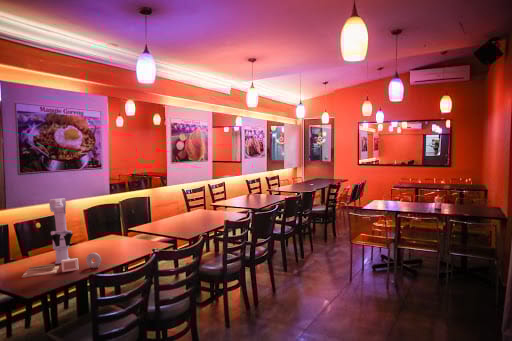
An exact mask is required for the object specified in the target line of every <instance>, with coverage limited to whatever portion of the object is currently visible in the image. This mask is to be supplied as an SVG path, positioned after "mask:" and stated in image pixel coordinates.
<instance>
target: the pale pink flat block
mask: <svg viewBox="0 0 512 341" xmlns="http://www.w3.org/2000/svg"><path fill="white" fill-rule="evenodd" d="M60 264H61V273H65V272H72V271H79V258H78V257H77V258H76V257H75V258H70V259H67V260H62V261H61V263H60Z"/></svg>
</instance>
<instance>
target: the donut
mask: <svg viewBox="0 0 512 341" xmlns="http://www.w3.org/2000/svg"><path fill="white" fill-rule="evenodd" d="M101 257H102V256H101V255H100V254H98V253H97V252H90V253H89V254H87V256H86V257H85V258H86V259H85V260H86V261H85V262H86V265H87V266H88V268H91V269H96V268H98V267H99V266H100V265H101V263H102V258H101ZM92 259H94V260H95V262H93V260H92Z"/></svg>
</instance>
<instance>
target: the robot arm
mask: <svg viewBox="0 0 512 341" xmlns="http://www.w3.org/2000/svg"><path fill="white" fill-rule="evenodd" d="M48 202H49V210H50V213H51V212H52V213H53V216H54V219H55V220H54V221H55V230H51V231H50V238H51V239H52V249H53V250H55V262H54V265H56V264H58V265H59V264H62V263H61V261H62V260H67V259H71V257H69V249H68V248H70V246H71V245H70V244H71V240H72V237H73V230H68V229H67V220H66V212H67V211H66V206H67V205H66V204H67V201H66V198H65V197H62V198H61V197H60V198H50V199H49V200H48Z"/></svg>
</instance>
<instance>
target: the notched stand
mask: <svg viewBox="0 0 512 341" xmlns="http://www.w3.org/2000/svg"><path fill="white" fill-rule="evenodd" d="M59 268H60V265H56V264H55V263H51V264H45V265H44V264H43V265H37V266H29V267H28V269H27V270H26V271H25V272H24V273H23V275H22V276H21V279H25V278H31V277H38V276H46V275H53V274H56V273H57V272H58V271H59Z"/></svg>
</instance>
